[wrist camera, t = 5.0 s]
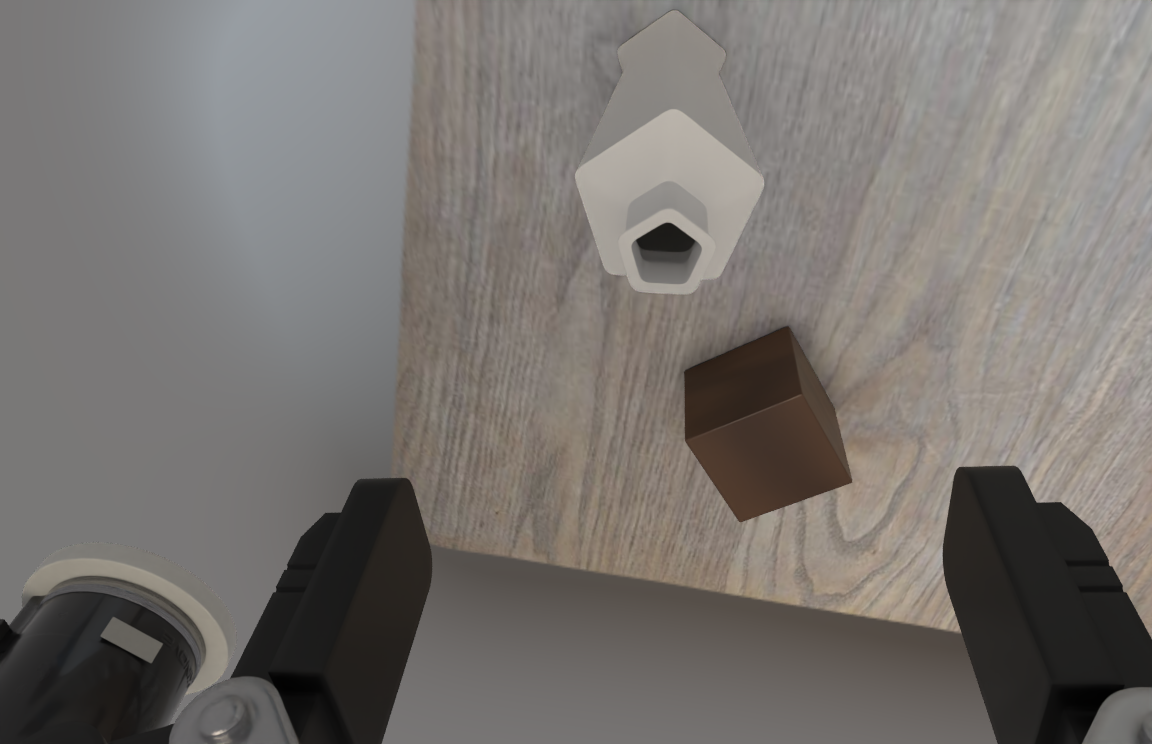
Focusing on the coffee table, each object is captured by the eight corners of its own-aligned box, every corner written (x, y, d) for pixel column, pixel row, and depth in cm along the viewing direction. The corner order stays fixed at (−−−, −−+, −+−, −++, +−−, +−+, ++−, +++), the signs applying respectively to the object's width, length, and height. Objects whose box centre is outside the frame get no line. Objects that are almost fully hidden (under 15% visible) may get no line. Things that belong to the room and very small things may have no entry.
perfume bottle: (748, 112, 32) (792, 319, 20) (633, 143, 33) (608, 358, 21) (722, -17, 30) (753, 128, 18) (599, 21, 31) (547, 183, 19)
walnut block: (733, 448, 41) (739, 523, 37) (683, 370, 39) (684, 441, 35) (835, 409, 39) (853, 483, 35) (788, 325, 37) (802, 393, 33)
